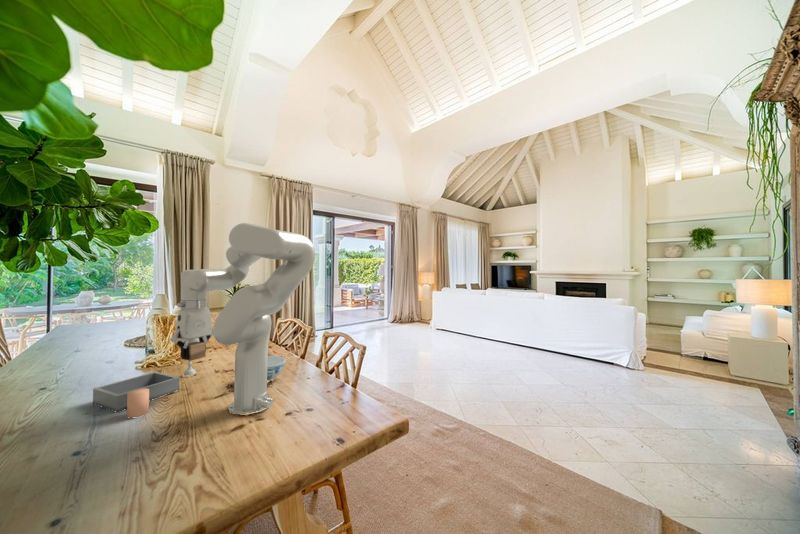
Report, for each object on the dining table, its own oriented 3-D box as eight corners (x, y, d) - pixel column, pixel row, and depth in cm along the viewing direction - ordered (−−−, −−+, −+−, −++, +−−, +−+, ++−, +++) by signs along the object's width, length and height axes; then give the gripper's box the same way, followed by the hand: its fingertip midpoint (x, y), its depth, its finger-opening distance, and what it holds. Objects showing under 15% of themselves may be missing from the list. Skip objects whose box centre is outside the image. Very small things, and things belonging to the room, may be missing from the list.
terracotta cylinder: (152, 412, 94) (152, 390, 94) (132, 420, 89) (133, 396, 89) (142, 409, 96) (143, 387, 96) (123, 416, 91) (123, 393, 91)
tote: (179, 391, 110) (179, 377, 110) (116, 412, 94) (117, 396, 94) (155, 384, 116) (155, 371, 116) (92, 403, 99) (93, 388, 99)
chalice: (182, 379, 121) (183, 334, 121) (176, 375, 125) (177, 331, 126) (203, 374, 127) (203, 331, 127) (196, 371, 131) (197, 329, 131)
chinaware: (275, 388, 114) (276, 367, 114) (236, 387, 115) (236, 366, 115) (290, 374, 129) (291, 356, 129) (255, 373, 130) (256, 355, 130)
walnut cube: (205, 356, 109) (205, 342, 109) (190, 360, 104) (191, 345, 104) (196, 355, 111) (196, 341, 111) (181, 359, 106) (181, 344, 106)
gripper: (174, 308, 98) (174, 365, 98) (223, 302, 114) (223, 352, 114) (160, 307, 101) (160, 362, 101) (210, 302, 117) (209, 350, 117)
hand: (193, 356), depth 107 cm, fingers closed on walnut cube, 5 cm apart
